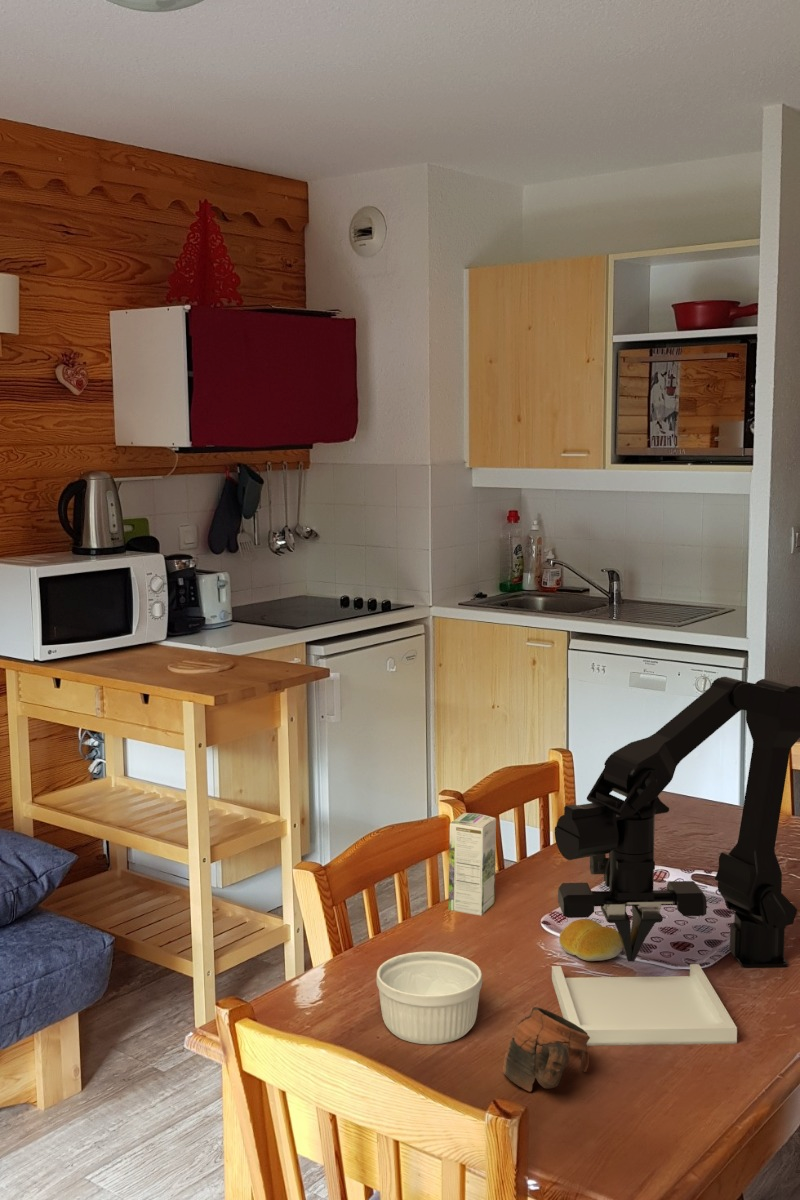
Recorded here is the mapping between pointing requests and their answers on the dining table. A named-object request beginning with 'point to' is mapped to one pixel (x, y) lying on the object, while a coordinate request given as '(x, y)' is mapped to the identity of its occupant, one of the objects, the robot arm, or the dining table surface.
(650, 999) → the tray
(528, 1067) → the pottery mug
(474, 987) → the ramekin
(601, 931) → the bread roll
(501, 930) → the dining table surface
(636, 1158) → the dining table surface
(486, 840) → the syrup box
